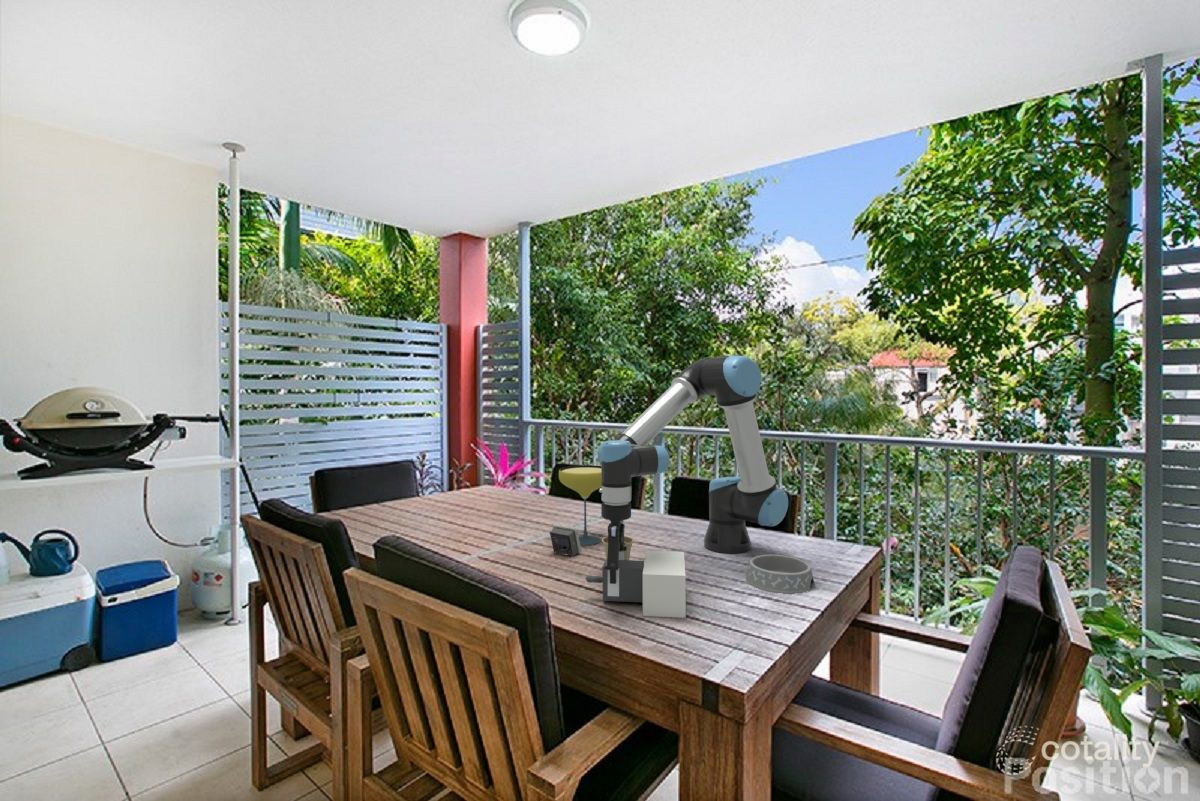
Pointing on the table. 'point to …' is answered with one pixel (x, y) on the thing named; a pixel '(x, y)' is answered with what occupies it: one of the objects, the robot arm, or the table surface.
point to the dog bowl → (779, 574)
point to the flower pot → (628, 544)
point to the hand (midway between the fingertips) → (616, 585)
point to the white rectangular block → (664, 584)
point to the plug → (623, 581)
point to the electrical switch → (565, 540)
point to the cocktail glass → (582, 489)
